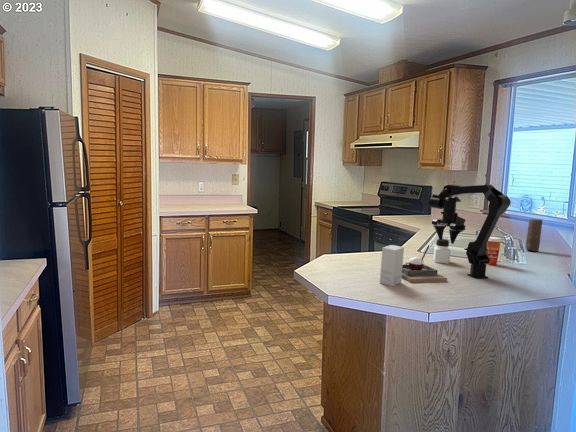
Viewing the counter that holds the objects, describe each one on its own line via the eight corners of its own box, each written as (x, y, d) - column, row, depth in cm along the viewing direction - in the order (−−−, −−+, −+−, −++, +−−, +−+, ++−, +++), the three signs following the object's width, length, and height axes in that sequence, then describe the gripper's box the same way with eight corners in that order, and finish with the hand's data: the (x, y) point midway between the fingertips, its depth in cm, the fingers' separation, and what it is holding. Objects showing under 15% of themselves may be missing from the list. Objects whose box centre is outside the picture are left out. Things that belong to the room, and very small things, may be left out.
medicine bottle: (449, 263, 224) (451, 241, 223) (434, 262, 226) (436, 239, 224) (447, 260, 231) (449, 238, 230) (433, 259, 233) (435, 237, 231)
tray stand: (447, 281, 190) (447, 273, 190) (409, 282, 186) (410, 274, 185) (420, 268, 211) (420, 261, 211) (386, 269, 207) (386, 262, 206)
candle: (539, 253, 264) (543, 220, 261) (525, 251, 267) (529, 219, 264) (538, 251, 271) (541, 219, 268) (524, 249, 274) (528, 218, 271)
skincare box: (388, 279, 189) (390, 244, 187) (402, 283, 185) (405, 246, 183) (378, 283, 182) (381, 246, 180) (393, 286, 178) (396, 249, 176)
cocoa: (404, 271, 198) (404, 245, 197) (409, 268, 203) (409, 242, 202) (425, 274, 193) (425, 247, 191) (429, 270, 198) (430, 245, 196)
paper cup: (482, 264, 226) (485, 237, 225) (483, 261, 233) (485, 235, 231) (498, 266, 223) (501, 239, 221) (499, 263, 230) (502, 237, 228)
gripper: (476, 212, 205) (473, 245, 207) (451, 208, 223) (448, 238, 225) (456, 212, 202) (453, 245, 204) (432, 207, 220) (429, 238, 222)
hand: (446, 241), depth 214 cm, fingers open, 9 cm apart
